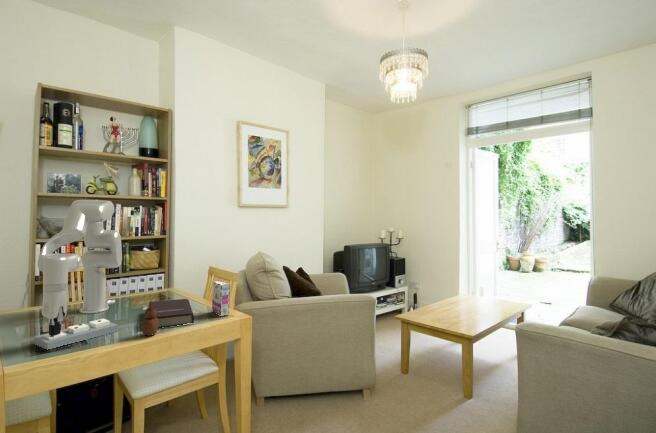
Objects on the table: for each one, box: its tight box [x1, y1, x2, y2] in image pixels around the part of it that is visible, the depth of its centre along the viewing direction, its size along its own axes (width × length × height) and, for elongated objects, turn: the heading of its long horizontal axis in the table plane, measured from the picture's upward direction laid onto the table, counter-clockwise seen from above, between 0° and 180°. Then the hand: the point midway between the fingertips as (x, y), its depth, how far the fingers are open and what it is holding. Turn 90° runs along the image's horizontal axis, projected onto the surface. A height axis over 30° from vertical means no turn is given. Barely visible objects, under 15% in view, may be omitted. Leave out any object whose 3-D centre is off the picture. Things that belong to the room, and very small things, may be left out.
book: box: [148, 298, 195, 329], centre depth 165 cm, size 28×20×6 cm
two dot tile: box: [67, 323, 89, 334], centre depth 138 cm, size 6×6×3 cm
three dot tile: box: [42, 332, 67, 341], centre depth 131 cm, size 6×6×3 cm
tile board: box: [33, 321, 119, 350], centre depth 138 cm, size 25×12×3 cm, turn 150°
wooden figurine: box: [141, 301, 159, 336], centre depth 143 cm, size 7×6×15 cm
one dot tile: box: [88, 318, 111, 328], centre depth 145 cm, size 6×6×3 cm
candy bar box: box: [211, 280, 231, 315], centre depth 174 cm, size 11×5×16 cm, turn 41°
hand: (54, 334), depth 131 cm, fingers closed
